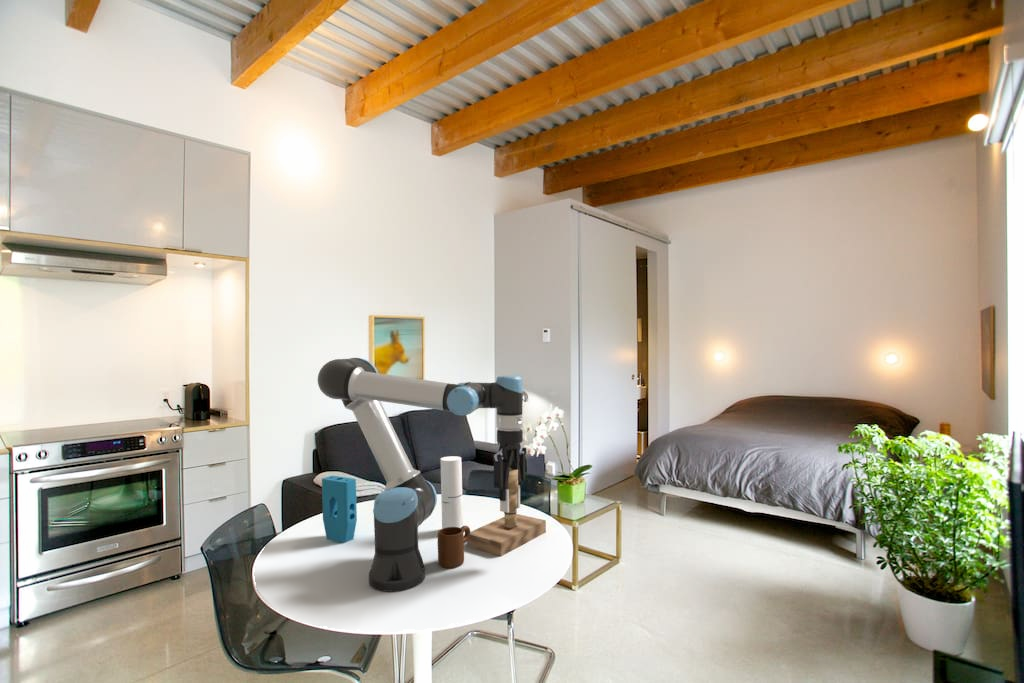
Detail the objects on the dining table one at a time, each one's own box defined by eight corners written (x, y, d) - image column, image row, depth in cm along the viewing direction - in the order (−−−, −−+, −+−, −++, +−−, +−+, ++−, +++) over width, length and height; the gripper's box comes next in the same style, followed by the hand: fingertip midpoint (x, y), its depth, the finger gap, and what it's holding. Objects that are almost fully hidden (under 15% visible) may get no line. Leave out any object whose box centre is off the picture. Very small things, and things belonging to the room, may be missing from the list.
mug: (460, 551, 160) (459, 520, 160) (479, 556, 155) (478, 525, 155) (432, 564, 150) (431, 532, 150) (451, 571, 146) (450, 537, 146)
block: (321, 538, 174) (320, 478, 174) (333, 533, 178) (332, 475, 178) (346, 544, 168) (345, 482, 168) (358, 539, 172) (357, 479, 172)
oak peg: (511, 529, 147) (511, 473, 147) (499, 526, 150) (498, 470, 150) (521, 524, 150) (521, 469, 151) (509, 521, 153) (508, 467, 153)
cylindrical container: (461, 535, 173) (460, 460, 174) (440, 535, 174) (438, 461, 174) (464, 527, 181) (462, 456, 181) (443, 528, 181) (442, 456, 181)
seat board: (501, 556, 155) (501, 542, 155) (466, 546, 164) (466, 533, 164) (545, 532, 174) (545, 520, 174) (512, 524, 183) (512, 513, 183)
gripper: (500, 434, 141) (501, 520, 141) (537, 426, 155) (538, 504, 155) (480, 431, 146) (480, 514, 145) (517, 424, 160) (518, 499, 159)
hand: (510, 509), depth 150 cm, fingers closed on oak peg, 4 cm apart
